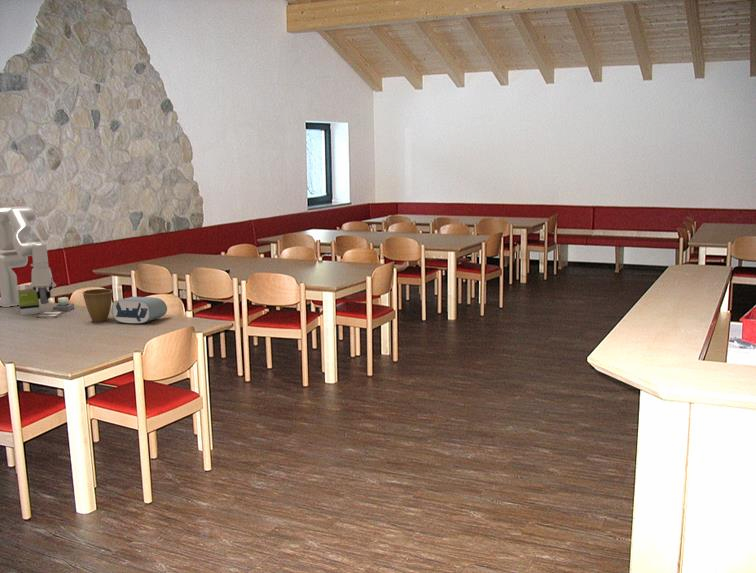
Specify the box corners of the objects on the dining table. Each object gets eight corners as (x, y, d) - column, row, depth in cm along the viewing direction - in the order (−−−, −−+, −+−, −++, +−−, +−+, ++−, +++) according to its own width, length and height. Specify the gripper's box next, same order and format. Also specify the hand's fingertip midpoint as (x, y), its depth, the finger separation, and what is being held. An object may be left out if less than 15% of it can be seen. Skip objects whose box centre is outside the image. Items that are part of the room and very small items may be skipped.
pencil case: (112, 323, 399) (111, 299, 398) (132, 317, 418) (131, 294, 416) (150, 324, 394) (148, 300, 392) (168, 318, 412) (167, 295, 411)
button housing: (58, 308, 440) (57, 303, 440) (74, 308, 441) (73, 303, 441) (53, 311, 432) (52, 306, 431) (69, 311, 432) (68, 306, 432)
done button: (60, 304, 438) (59, 297, 437) (69, 303, 438) (68, 297, 438) (57, 305, 433) (56, 299, 432) (66, 305, 434) (65, 298, 433)
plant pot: (81, 324, 400) (78, 294, 397) (90, 317, 414) (88, 288, 411) (109, 323, 400) (107, 293, 397) (118, 317, 415) (116, 288, 412)
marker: (42, 302, 422) (40, 282, 420) (49, 302, 422) (47, 282, 420) (39, 304, 418) (37, 283, 416) (47, 303, 418) (45, 283, 416)
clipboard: (44, 312, 430) (44, 310, 430) (64, 312, 431) (64, 309, 430) (35, 318, 416) (35, 315, 416) (56, 317, 417) (56, 314, 417)
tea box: (20, 310, 437) (17, 285, 434) (39, 309, 441) (36, 283, 438) (20, 315, 423) (17, 289, 421) (40, 313, 428) (37, 287, 425)
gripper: (22, 267, 412) (26, 300, 415) (54, 266, 413) (57, 299, 416) (27, 265, 419) (31, 297, 422) (58, 264, 421) (62, 296, 424)
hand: (44, 298), depth 419 cm, fingers closed on marker, 4 cm apart
